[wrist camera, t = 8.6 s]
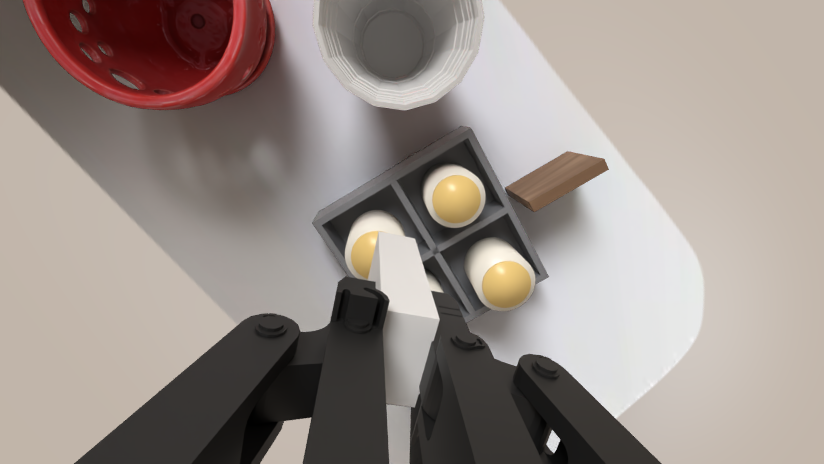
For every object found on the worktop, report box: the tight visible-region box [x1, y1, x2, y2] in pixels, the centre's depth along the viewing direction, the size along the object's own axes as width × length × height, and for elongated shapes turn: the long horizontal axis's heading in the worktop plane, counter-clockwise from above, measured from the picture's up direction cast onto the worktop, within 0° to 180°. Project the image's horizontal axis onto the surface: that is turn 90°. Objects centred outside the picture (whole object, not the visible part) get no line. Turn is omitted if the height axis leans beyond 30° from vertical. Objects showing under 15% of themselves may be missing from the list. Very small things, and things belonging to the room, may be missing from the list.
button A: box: [345, 210, 405, 280], centre depth 35 cm, size 5×5×5 cm
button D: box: [464, 237, 535, 311], centre depth 36 cm, size 5×5×5 cm
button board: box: [312, 126, 549, 323], centre depth 40 cm, size 16×16×4 cm
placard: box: [505, 151, 609, 212], centre depth 38 cm, size 1×7×7 cm, turn 120°
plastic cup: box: [313, 0, 484, 111], centre depth 31 cm, size 11×11×12 cm
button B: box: [421, 162, 485, 228], centre depth 37 cm, size 5×5×5 cm
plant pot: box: [23, 0, 275, 110], centre depth 30 cm, size 13×13×12 cm
